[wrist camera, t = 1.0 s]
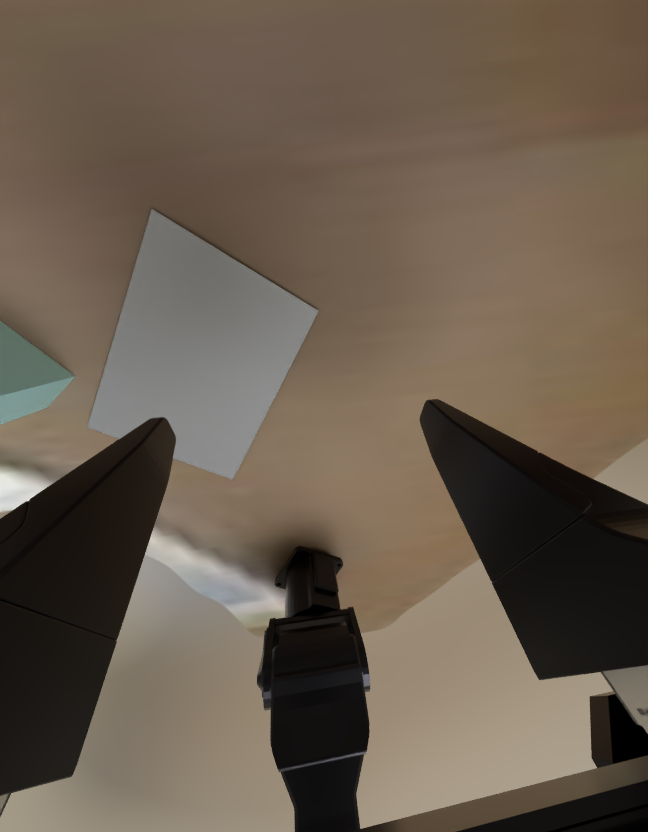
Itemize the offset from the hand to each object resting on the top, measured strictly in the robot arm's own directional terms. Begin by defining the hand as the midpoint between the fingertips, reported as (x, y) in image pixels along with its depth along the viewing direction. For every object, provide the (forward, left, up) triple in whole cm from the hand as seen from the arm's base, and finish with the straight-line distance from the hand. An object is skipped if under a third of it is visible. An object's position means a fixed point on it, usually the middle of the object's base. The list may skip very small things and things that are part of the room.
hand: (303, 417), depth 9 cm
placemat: (-5, +7, -14) cm, 16 cm away
